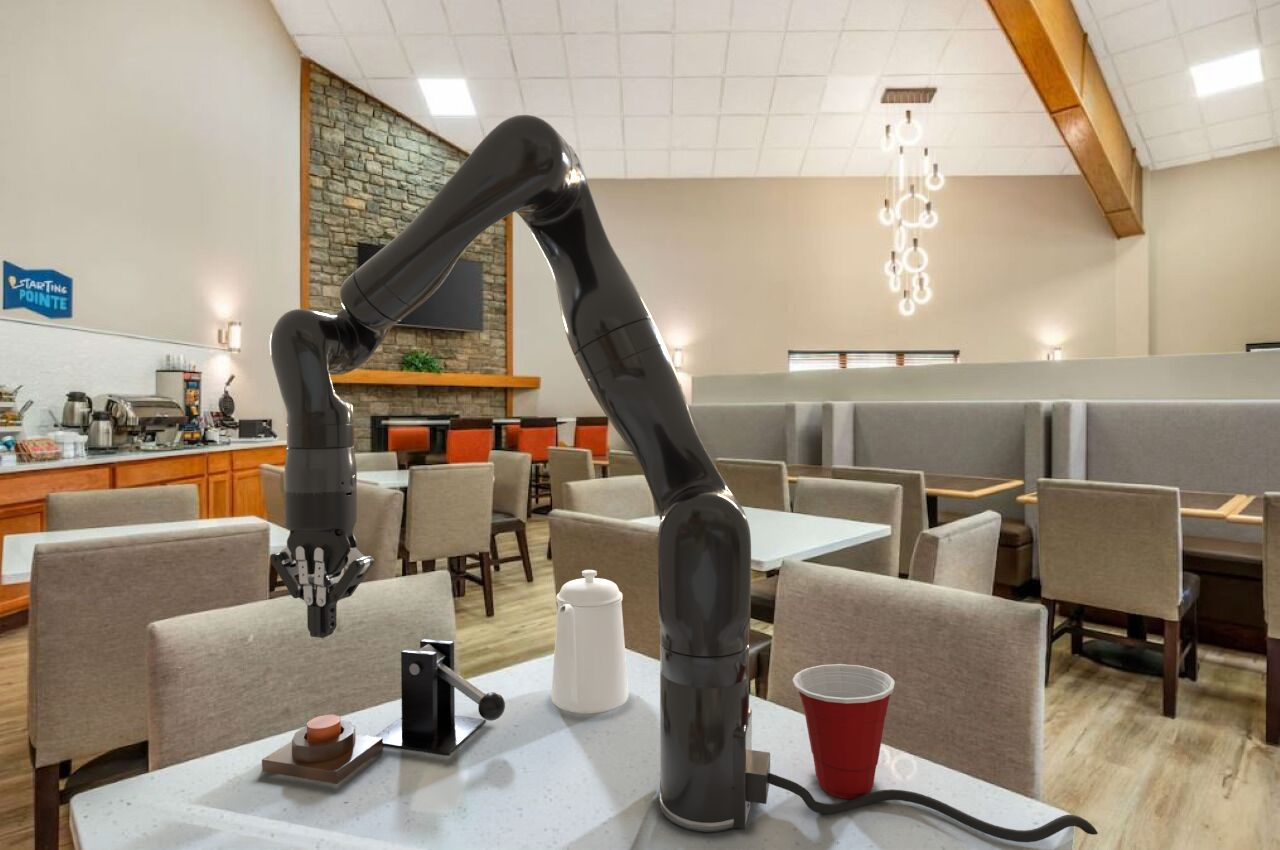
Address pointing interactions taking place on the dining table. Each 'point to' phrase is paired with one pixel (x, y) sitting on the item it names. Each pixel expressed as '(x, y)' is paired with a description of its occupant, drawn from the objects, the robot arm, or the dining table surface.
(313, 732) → the warm button
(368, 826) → the dining table surface
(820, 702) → the plastic cup
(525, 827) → the dining table surface
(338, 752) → the button base
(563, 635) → the coffeepot
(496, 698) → the lever
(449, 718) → the lever base
